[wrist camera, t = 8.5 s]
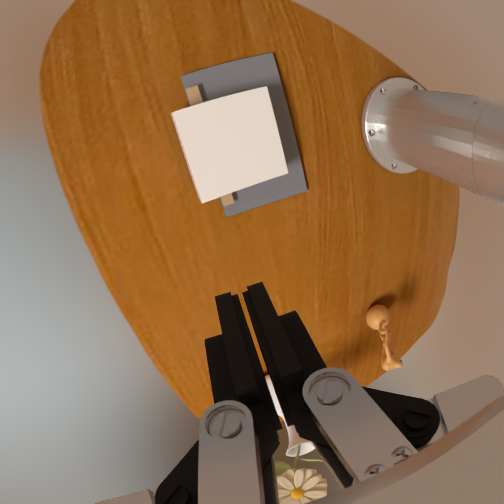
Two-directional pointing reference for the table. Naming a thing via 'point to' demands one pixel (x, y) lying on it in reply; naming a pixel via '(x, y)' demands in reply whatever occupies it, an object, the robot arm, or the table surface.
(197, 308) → the table surface
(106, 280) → the table surface
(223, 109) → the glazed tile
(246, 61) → the charcoal mat
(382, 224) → the table surface
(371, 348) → the table surface
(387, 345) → the figurine
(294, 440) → the flower in vase
